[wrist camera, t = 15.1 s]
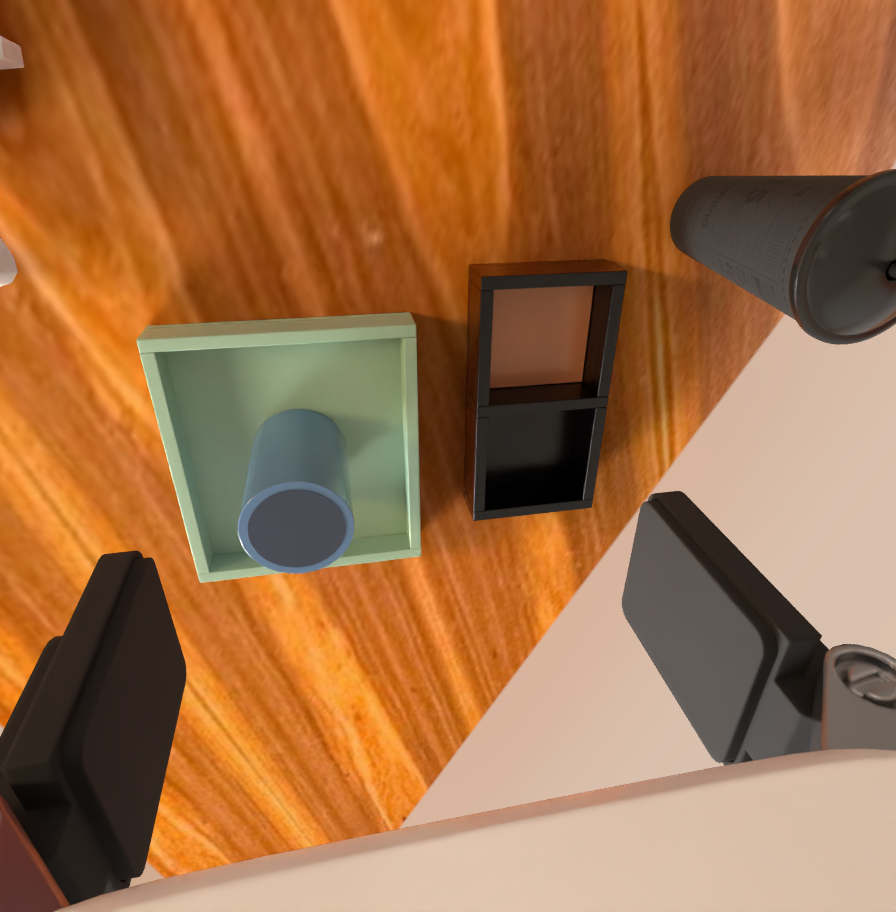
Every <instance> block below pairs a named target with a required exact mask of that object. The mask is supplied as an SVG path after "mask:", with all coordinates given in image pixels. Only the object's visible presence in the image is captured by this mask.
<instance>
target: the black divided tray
mask: <svg viewBox="0 0 896 912" xmlns="http://www.w3.org/2000/svg"><path fill="white" fill-rule="evenodd" d="M626 278H627V270H625V269H623V268H621V267H619V266H617V265H615V264H613V263H611V262H609V261H607V260H605V259H596V260H569V261H543V262H517V263H491V264H469V280H468V324H467V369H466V413H465V458H464V498H465V500H466V503H467V505H468V508H469V511H470V513H471V516H472V518H473V521H477V520H486V519H495V518H504V517H513V516H522V515H530V514H539V513H548V512H557V511H566V510H575V509H584V508H591V507H592V502H593V495H594V489H595V482H596V476H597V469H598V462H599V456H600V449H601V443H602V436H603V430H604V423H605V416H606V410H607V402H608V395H609V389H610V382H611V376H612V369H613V363H614V356H615V349H616V343H617V336H618V330H619V323H620V317H621V310H622V303H623V297H624V290H625V284H626Z"/></svg>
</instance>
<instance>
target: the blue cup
mask: <svg viewBox="0 0 896 912" xmlns="http://www.w3.org/2000/svg"><path fill="white" fill-rule="evenodd" d="M238 535H239V539H240V542H241V544H242V546H243V548H244V549H245V551H246V552H247V554H248V555H249V556H250V557H251V558H252V559H254V560H255V561H256V562H257V563H259V564H261V565H262V566H264V567H266V568H269V569H271V570H274V571H278V572H283V573H295V574H297V573H307V572H312V571H316V570H319V569H321V568H324V567H326V566H328V565H330V564H331V563H333V562H334V561H336V560H337V559H338V558H339V557H341V556H342V554H343V553H344V552H345V551H346V550H347V548H348V547H349V545H350V543H351V541H352V538H353V535H354V514H353V504H352V494H351V485H350V475H349V465H348V455H347V446H346V441H345V438H344V435H343V433H342V431H341V430H340V428H339V427H338V426H337V425H336V424H335V423H334V422H333V421H332V420H331V419H330V418H328V417H326V416H325V415H323V414H321V413H318V412H315V411H312V410H307V409H291V410H286V411H282V412H279V413H277V414H275V415H273V416H271V417H270V418H268V419H267V420H266V421H265V422H263V423H262V424H261V426H260V427H259V428H258V430H257V432H256V433H255V436H254V438H253V442H252V448H251V453H250V459H249V465H248V470H247V476H246V481H245V487H244V493H243V498H242V504H241V510H240V515H239V521H238Z"/></svg>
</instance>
